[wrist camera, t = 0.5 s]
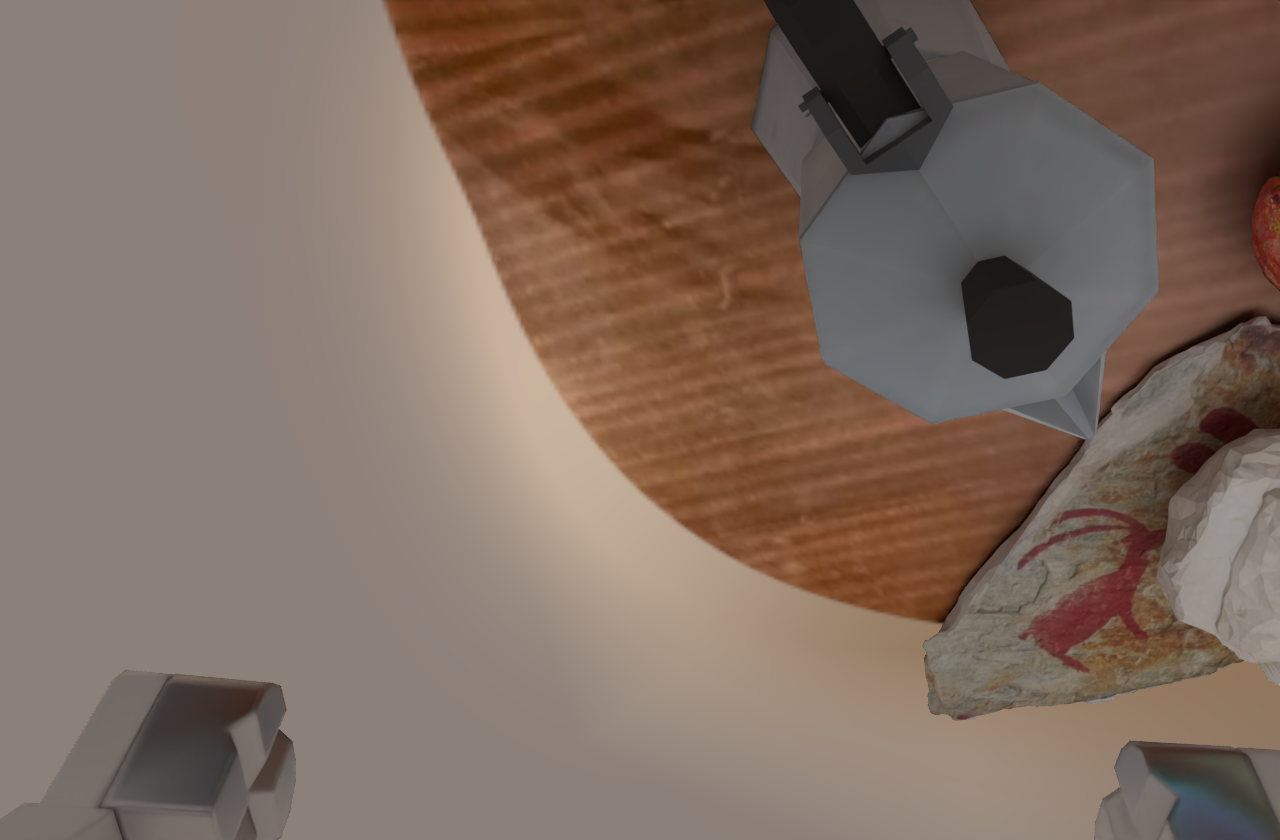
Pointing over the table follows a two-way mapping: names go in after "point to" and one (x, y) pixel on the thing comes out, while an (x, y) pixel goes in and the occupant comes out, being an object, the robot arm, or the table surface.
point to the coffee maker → (953, 212)
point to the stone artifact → (1106, 547)
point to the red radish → (1268, 230)
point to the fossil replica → (1229, 549)
